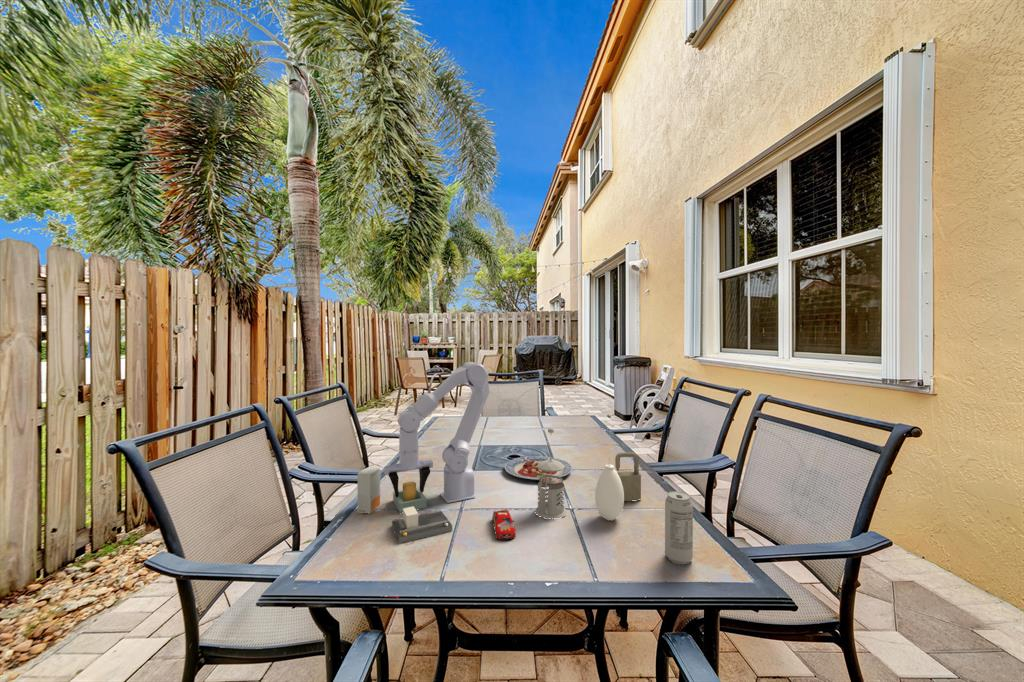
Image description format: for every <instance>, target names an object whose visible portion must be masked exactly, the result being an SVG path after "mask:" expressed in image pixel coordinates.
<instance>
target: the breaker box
mask: <svg viewBox="0 0 1024 682" xmlns="http://www.w3.org/2000/svg"><path fill="white" fill-rule="evenodd" d="M391 528H392V530H393V533H394V532H395V533H394V535H395V537H396V539H397V542H398V544H399V545H400V544H403V543H408V542H412V541H416V539H417V540H420V539H425V538H428V536H429V537H434V536H438V535H442V534H445V532H446V533H450V532H453V524H452V523H451V522H450V520H449V519H448V518H447V516H446V514H444V512H443V510H441V509H440V510H434V511H429V512H425V513H421V514H418V527H413V528H409V529H405V526H404V524H403V517H402V518H396V519H394V520H391ZM449 531H450V532H449ZM441 533H442V534H441ZM424 537H425V538H424Z"/></svg>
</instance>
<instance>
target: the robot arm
mask: <svg viewBox="0 0 1024 682" xmlns="http://www.w3.org/2000/svg"><path fill="white" fill-rule="evenodd" d="M489 374H490V373H489V372H488V370H487V369H486V367H485V366H484V365H483V364H482V363H478V362H473V361H465V362H464V363H462V365H461V366H458V367H457V368H456V369H455V370H454V371H453V372H452V373H451V374H450V375H449V376H448V377H447V378H446V379H445V380H444V381H443V382H442V383H440V385H439V386H438V387H436V389H434V390H433V391H432V392H430V393H427V392H426V393H425V394H424V395H423V394H420V395H418V398H419V399H418V400H416V401H415V402H414V403H413V404H412V405H411V406H410V405H409V406H407V409H406V410H403V411H402V412H401V413H400V414H399V416H398V419H397V423H398V426H399V437H398V440H399V443H398V444H399V446H398V447H399V449H398V450H399V453H398V455H399V462H398V463H396V464H391V465H388V466H384V467H383V470H384V472H383V473H384V475H385V476H388V477H389V479H390V482H391V484H392V487H393V490H394V491H393V492H395V496H396V497H398V496H399V492H398V491H399V479H400V478H399V474H398V473H402V472H408V471H415V470H418V472H419V489H420V491H421V493H424V492H425V491H424V490H425V487H426V483H427V480H428V478H429V476H430V474H431V469H432V468H434V462H433V460H432V459H427V460H419V433H418V431H419V428H420V425H421V422H422V421H424V420H425V419H427V417H429V416H430V414H432V413H433V412H434V411H435V410H436V409H437V408H439V401H441V400H442V399H443V398H444V397H445V396H446V395H448V394H449V393H450V392H452V390H454V389H455V388H457V386H460V385H467V384H468V386H469V388H470V390H471V392H472V393H471V395H470V398H469V401H468V403H467V404H466V406H465V407H466V408H465V410H464V412H463V415H462V417H461V420H460V422H459V425H458V427H457V430H456V433H455V434H454V437H453V438H452V439H451V440H450V441H449V444H448V445H447V447H445V448H444V450H443V451H442V456H441V457H442V460H443V462H444V463H445V465H444V467H443V492H439V495H440V496H441V498H442V499H443V500H444V501H445V503H447V504H451V503H454V502H460V501H464V500H465V501H466V500H470V499H474V498H476V495H475V475H474V474H475V473H474V471H473V468H472V467H470V466H468V464H469V455H470V449H471V448H470V444H471V443H470V442H471V440H472V438H473V435H474V433H475V430H476V427H477V425H478V424H479V423H478V422H479V420H480V417H481V415H482V412H483V410H484V408H485V404H486V402H487V399H488V398H489V394H490V386H489Z"/></svg>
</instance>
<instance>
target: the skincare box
mask: <svg viewBox="0 0 1024 682" xmlns="http://www.w3.org/2000/svg"><path fill="white" fill-rule="evenodd" d="M379 506H380V507H381V467H375V466H368V467H366V468H363V469H362V470H361V471H359V472H358V473H357V513H358V512H360V513H359V514H363V513H368V514H367V515H370V513H371V514H372V513H373V512H374V511H375V509H376V510H377V509H378V508H380V507H379Z"/></svg>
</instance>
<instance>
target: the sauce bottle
mask: <svg viewBox="0 0 1024 682" xmlns="http://www.w3.org/2000/svg"><path fill="white" fill-rule="evenodd" d="M617 472H618V471H617V469H616V468H615V466H614V465H613V464H611V456H609V457H608V464H605V466H604V469H602V471H601V473H600V475H599V477H598V479H597V482H596V487H595V492H594V494H595V495H594V499H595V505H596V508H597V511H598V513H599V514H600V516H602V517H603V518H604V519H605V520H607V521H609V520H611V521H614V520H616V519H617V518H618V517H620V515H621V514H622V511H623V509H624V504H625V502H624V491H623V486H622V482H621V480H620V477H619V475H618V473H617Z"/></svg>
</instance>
